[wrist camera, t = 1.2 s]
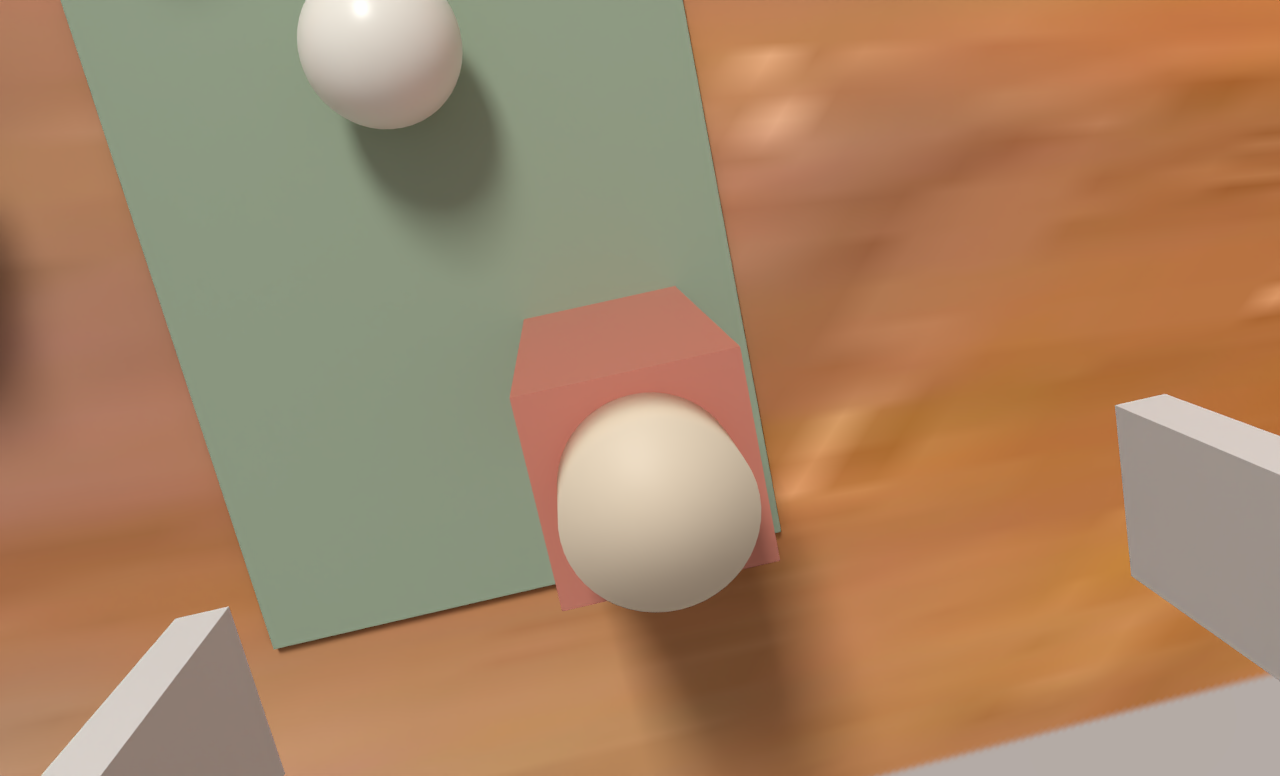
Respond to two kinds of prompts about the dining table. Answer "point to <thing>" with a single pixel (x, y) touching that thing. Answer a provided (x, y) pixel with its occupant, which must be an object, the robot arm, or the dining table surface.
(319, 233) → the felt mat
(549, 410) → the red tall block
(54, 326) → the dining table surface
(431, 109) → the ball
